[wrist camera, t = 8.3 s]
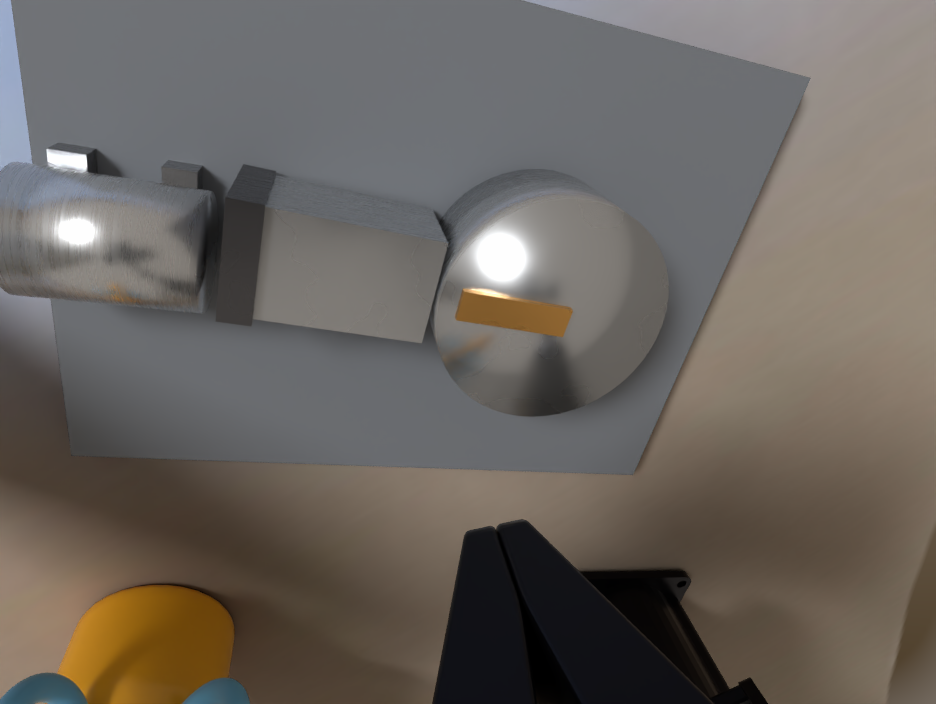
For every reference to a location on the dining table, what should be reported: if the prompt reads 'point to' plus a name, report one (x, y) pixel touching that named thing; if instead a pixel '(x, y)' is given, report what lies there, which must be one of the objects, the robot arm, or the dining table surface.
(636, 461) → the mat
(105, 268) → the duct stub
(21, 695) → the cylinder
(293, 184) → the dial knob with block
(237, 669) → the dining table surface
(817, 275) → the dining table surface
